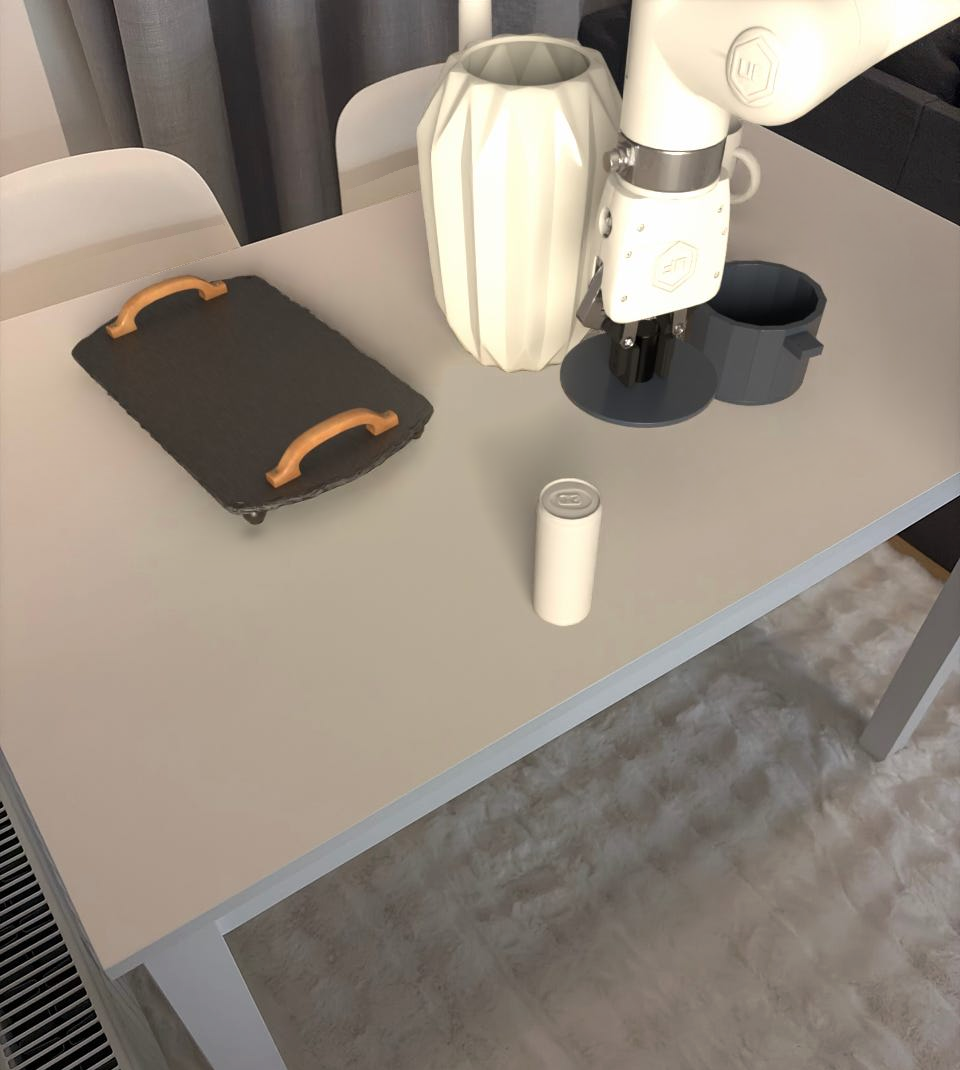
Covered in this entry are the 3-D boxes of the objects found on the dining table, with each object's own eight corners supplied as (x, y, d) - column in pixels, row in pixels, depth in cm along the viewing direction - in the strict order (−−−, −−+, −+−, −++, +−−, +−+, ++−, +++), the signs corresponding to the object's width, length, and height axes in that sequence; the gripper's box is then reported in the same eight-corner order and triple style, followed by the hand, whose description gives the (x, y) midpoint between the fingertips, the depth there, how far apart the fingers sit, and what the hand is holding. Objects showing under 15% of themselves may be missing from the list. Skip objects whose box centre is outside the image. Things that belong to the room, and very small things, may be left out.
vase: (429, 399, 96) (410, 110, 74) (429, 295, 108) (413, 21, 87) (620, 394, 96) (657, 103, 75) (599, 291, 108) (624, 16, 87)
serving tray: (62, 361, 101) (40, 308, 96) (248, 284, 110) (237, 232, 105) (255, 556, 82) (241, 502, 77) (461, 443, 91) (459, 389, 86)
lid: (664, 326, 88) (673, 270, 84) (746, 408, 81) (760, 351, 76) (533, 362, 85) (535, 305, 81) (605, 451, 77) (612, 394, 73)
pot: (744, 311, 105) (760, 237, 99) (845, 401, 95) (871, 325, 88) (645, 338, 102) (655, 264, 96) (738, 434, 92) (757, 358, 85)
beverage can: (592, 630, 76) (606, 521, 67) (532, 630, 76) (537, 521, 67) (589, 586, 79) (601, 476, 70) (531, 586, 79) (536, 476, 70)
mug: (643, 208, 120) (653, 125, 113) (678, 182, 125) (690, 100, 117) (733, 237, 116) (750, 153, 108) (766, 208, 120) (785, 125, 112)
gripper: (594, 201, 64) (575, 423, 78) (795, 155, 68) (742, 374, 82) (544, 155, 68) (535, 373, 82) (736, 115, 72) (696, 330, 86)
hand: (639, 372), depth 82 cm, fingers closed on lid, 2 cm apart
